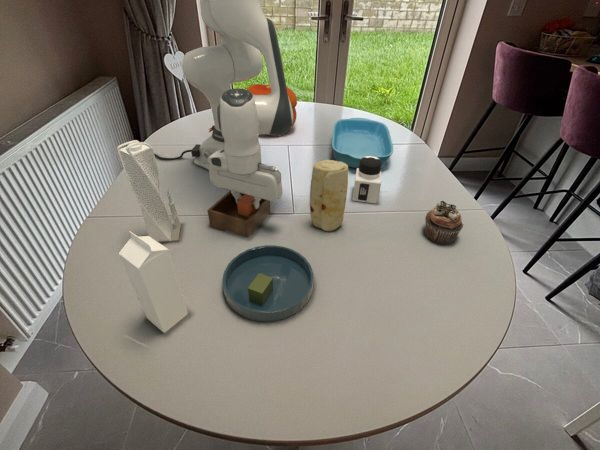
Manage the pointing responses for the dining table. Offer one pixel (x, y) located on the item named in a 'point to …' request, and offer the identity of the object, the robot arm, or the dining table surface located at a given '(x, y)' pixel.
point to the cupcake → (443, 223)
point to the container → (368, 180)
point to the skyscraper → (149, 191)
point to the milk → (154, 280)
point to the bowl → (286, 282)
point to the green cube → (260, 289)
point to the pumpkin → (266, 89)
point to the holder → (237, 216)
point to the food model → (328, 194)
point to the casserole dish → (361, 141)
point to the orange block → (246, 205)
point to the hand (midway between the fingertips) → (247, 205)
